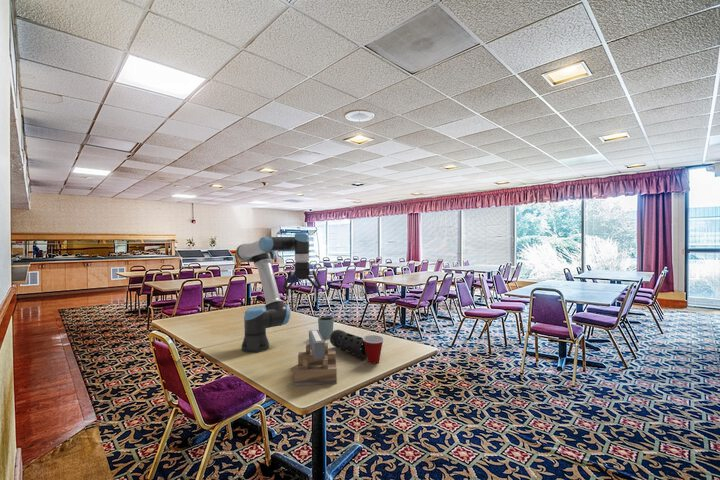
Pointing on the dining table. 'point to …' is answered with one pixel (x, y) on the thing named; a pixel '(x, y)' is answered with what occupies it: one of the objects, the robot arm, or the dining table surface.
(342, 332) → the black perforated cylinder
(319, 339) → the gray rectangular block
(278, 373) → the dining table surface
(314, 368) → the rack
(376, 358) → the plastic cup
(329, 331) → the grey green pot
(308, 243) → the robot arm
